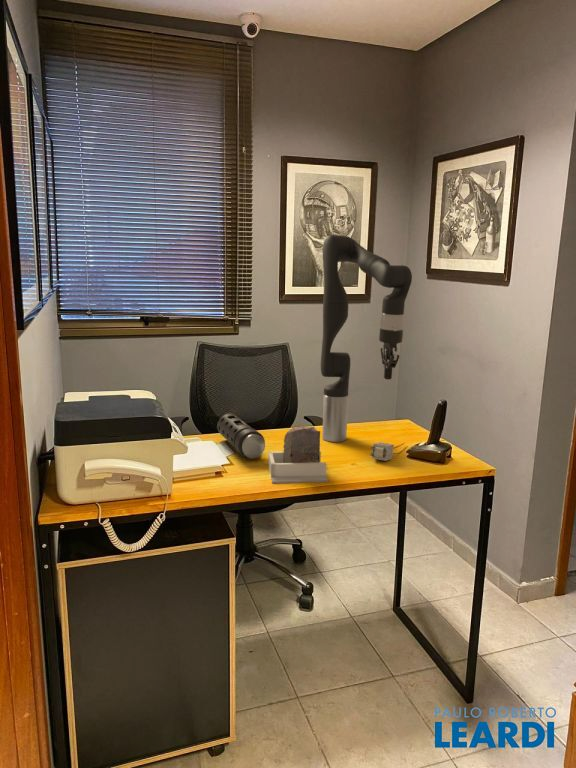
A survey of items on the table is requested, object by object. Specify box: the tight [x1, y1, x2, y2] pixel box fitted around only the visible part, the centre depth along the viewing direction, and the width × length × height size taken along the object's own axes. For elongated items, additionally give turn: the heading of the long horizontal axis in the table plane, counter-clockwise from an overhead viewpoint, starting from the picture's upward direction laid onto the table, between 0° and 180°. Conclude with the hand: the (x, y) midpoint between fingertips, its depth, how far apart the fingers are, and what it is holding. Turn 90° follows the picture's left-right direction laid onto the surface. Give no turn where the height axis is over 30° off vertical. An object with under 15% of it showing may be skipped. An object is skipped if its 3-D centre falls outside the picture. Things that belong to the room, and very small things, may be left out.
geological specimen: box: [283, 426, 321, 463], centre depth 182 cm, size 11×6×15 cm, turn 117°
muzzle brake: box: [216, 413, 266, 459], centre depth 202 cm, size 10×28×10 cm, turn 23°
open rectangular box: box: [267, 450, 329, 484], centre depth 181 cm, size 16×17×4 cm
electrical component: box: [369, 442, 408, 461], centre depth 202 cm, size 24×6×5 cm, turn 151°
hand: (387, 378), depth 191 cm, fingers closed
